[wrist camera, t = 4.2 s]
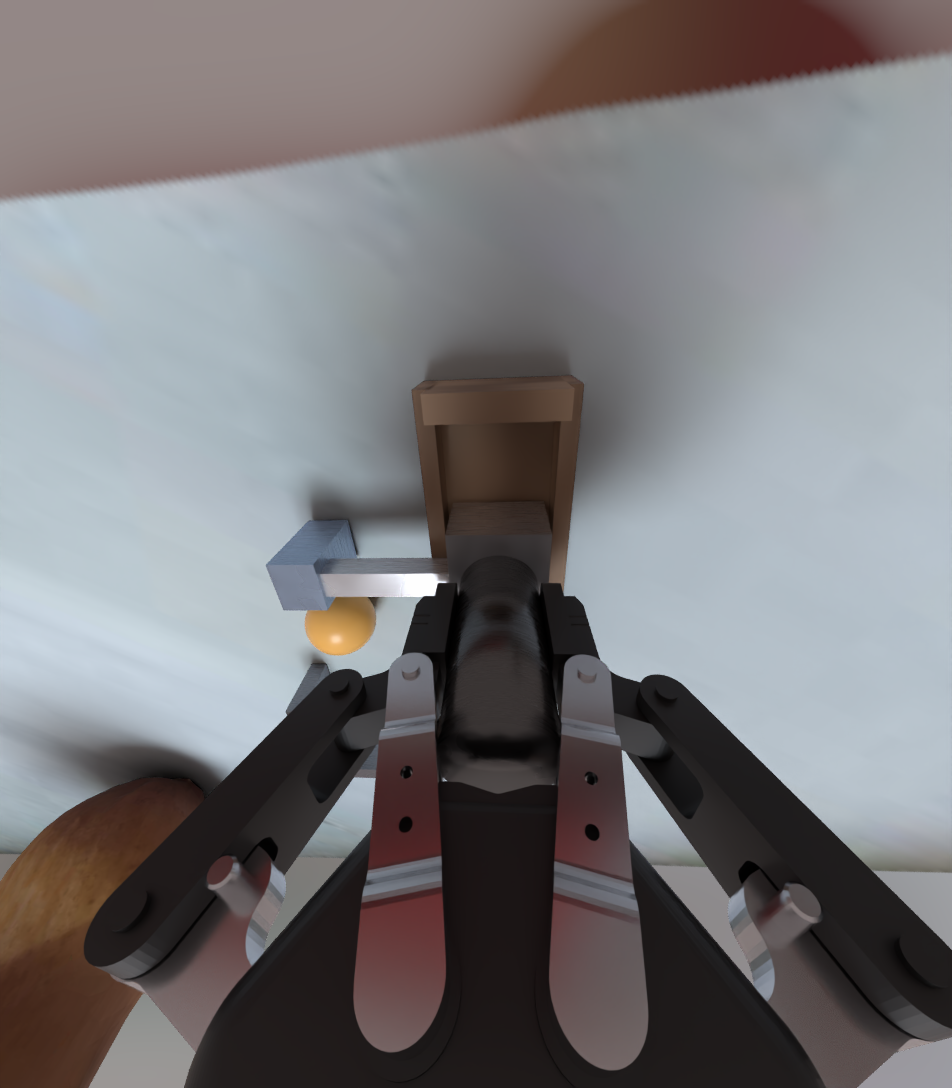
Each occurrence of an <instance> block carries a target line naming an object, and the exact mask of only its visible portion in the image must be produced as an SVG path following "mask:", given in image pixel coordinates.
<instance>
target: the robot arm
mask: <svg viewBox="0 0 952 1088" xmlns="http://www.w3.org/2000/svg"><path fill="white" fill-rule="evenodd" d="M457 600H458V587H457V583H438V584H437V588H436V592H435V596H424V597H423V598H422V599H421V600H420V601H419V602H418V603H417V605H416V608H415V611H414V616H413V618H412V622H411V625H410V629H409V632H408V635H407V639H406V642H405V646H404V649H403V653H402V656H400V657H399V658H397V659H396V660H395V661H394V662H393V663H392V665H391V666H390V669H389V670H387V671H385V672H383V673H380V674H376V675H372V676H369V677H365V678H362V676H361V674H360V673H359V672H357V671H355V670H352V669H342V670H338V671H335V672H333V673H331V674H329V675H328V676H327V677H325V678H324V679H323V680H322V681H321V682H320V683H319V684H318V685H317V686H316V687H315V688H314V689H313V690H312V691H311V692H310V693H309V694H308V695H307V696H306V697H305V698H304V699H303V700H302V701H301V702H300V703H299V704H298V705H297V706H296V707H295V708H294V709H293V710H292V711H291V712H290V713H289V714H288V715H287V717H286V718H285V719H284V720H283V721H282V722H281V723H280V724H279V725H278V726H277V727H276V728H275V729H274V730H273V731H272V732H271V733H270V734H269V735H268V736H267V737H266V738H265V739H264V740H263V741H262V742H261V743H260V744H259V745H258V746H257V747H256V748H255V749H254V750H253V751H252V752H251V753H250V754H249V755H248V756H247V757H246V758H245V759H244V760H243V761H242V762H241V763H240V764H239V765H238V766H237V767H236V768H235V769H234V770H233V771H232V772H231V773H230V774H229V775H228V776H227V777H226V778H225V779H224V780H223V781H222V782H221V783H220V784H219V785H218V786H217V787H216V788H215V789H214V790H213V791H212V793H211V794H210V795H209V796H208V797H207V798H206V799H205V800H204V801H203V802H202V803H201V804H200V805H199V806H198V807H197V808H196V809H195V810H194V811H193V812H192V813H191V814H190V815H189V816H188V817H187V818H186V819H185V820H184V821H183V822H182V823H181V824H180V825H179V826H178V827H177V828H176V829H175V830H174V831H173V832H172V833H171V834H170V835H169V836H168V837H167V838H166V839H165V840H164V841H163V842H162V843H161V844H160V845H159V846H158V847H157V848H156V849H155V850H154V851H153V852H152V853H151V854H150V855H149V856H148V857H147V858H146V859H145V860H144V861H143V862H142V863H141V864H140V865H139V866H138V867H137V869H136V870H135V871H134V872H133V873H132V874H131V875H130V876H129V877H128V878H127V879H126V880H125V881H124V882H123V883H122V884H121V885H120V886H119V887H118V888H117V889H116V890H115V891H114V892H113V893H112V894H111V895H110V896H109V897H108V898H107V900H106V901H105V902H104V903H103V905H102V906H101V907H100V909H99V910H98V912H97V913H96V915H95V916H94V918H93V920H92V922H91V924H90V926H89V928H88V931H87V933H86V937H85V941H84V956H85V959H86V960H87V962H88V963H89V964H91V965H93V966H95V967H97V968H99V969H101V970H103V971H105V972H107V973H109V974H110V975H111V977H112V978H113V979H114V980H116V981H118V982H120V983H122V984H124V985H126V986H129V987H131V988H133V989H135V990H137V991H139V992H142V993H144V994H146V995H148V996H149V997H150V998H151V999H152V1000H153V1002H154V1003H155V1004H156V1005H157V1006H158V1008H159V1009H160V1010H161V1011H162V1012H163V1014H164V1015H165V1016H166V1017H167V1018H168V1019H169V1021H170V1022H171V1023H172V1024H173V1026H174V1027H175V1028H176V1029H177V1030H178V1032H179V1033H180V1034H181V1035H182V1036H183V1038H184V1039H185V1040H186V1041H187V1042H188V1044H189V1045H190V1046H191V1047H192V1048H193V1050H194V1051H195V1052H196V1054H195V1056H194V1059H193V1061H192V1064H191V1067H190V1069H189V1073H188V1076H187V1079H186V1083H185V1086H184V1088H857V1087H858V1086H859V1085H860V1084H861V1083H862V1082H863V1081H865V1080H866V1079H867V1078H868V1077H869V1076H870V1075H871V1074H872V1073H873V1072H874V1071H875V1070H877V1069H878V1068H879V1067H880V1066H881V1065H882V1064H883V1063H884V1062H885V1061H887V1060H888V1059H889V1058H890V1057H891V1056H892V1055H893V1054H894V1053H896V1052H899V1051H903V1050H907V1049H910V1048H914V1047H917V1046H921V1045H925V1044H929V1043H932V1042H936V1041H939V1040H943V1039H947V1038H950V1037H952V950H951V949H950V948H949V947H948V946H947V945H946V944H945V942H943V941H942V939H940V937H939V936H937V934H935V933H934V932H933V931H932V930H931V929H930V928H929V927H928V926H927V925H926V924H925V923H924V922H923V921H922V920H921V919H920V918H919V917H918V916H917V915H916V914H915V913H914V912H913V911H912V910H911V909H910V908H909V907H908V906H907V905H906V904H905V903H904V902H903V901H902V900H901V899H900V898H899V897H898V896H897V895H896V894H895V893H894V892H893V891H892V890H891V889H890V888H889V887H888V886H887V885H886V884H885V883H884V882H883V881H882V880H880V878H879V877H878V876H877V875H876V874H875V873H874V872H873V871H872V870H870V869H869V868H868V867H867V866H866V865H865V864H864V863H863V862H862V861H861V860H860V859H859V858H858V857H857V856H856V855H855V854H854V853H853V852H852V851H851V850H850V849H849V848H848V847H847V846H846V845H845V844H844V843H843V842H842V841H841V840H840V839H839V838H838V837H837V836H836V835H835V834H834V833H833V832H832V831H831V830H830V829H829V828H828V827H827V826H826V825H825V824H824V823H823V822H822V821H821V820H820V819H819V818H818V817H817V816H816V815H815V814H814V813H813V812H812V811H811V810H810V809H809V808H808V807H806V806H805V805H804V804H803V803H802V802H801V801H800V800H799V799H798V798H797V797H796V796H795V795H794V794H793V793H792V792H791V791H790V790H789V789H788V788H787V787H786V786H785V785H784V784H783V783H782V782H781V781H780V780H779V779H778V778H777V777H776V776H775V775H774V774H773V773H772V772H771V771H770V770H769V769H768V768H767V767H766V766H765V765H764V764H763V763H762V762H761V761H760V760H759V759H758V758H757V757H756V756H755V755H754V754H753V753H752V752H751V751H750V750H749V749H748V748H747V747H746V746H745V745H744V744H743V743H741V742H740V741H739V740H738V739H737V738H736V737H735V736H734V735H733V734H732V733H731V732H730V731H729V730H728V729H727V728H726V727H725V726H724V725H723V724H722V723H721V722H720V721H719V720H718V719H717V718H716V717H715V716H714V715H713V714H712V713H711V712H710V711H709V710H708V709H707V708H706V707H705V706H704V705H703V704H702V703H701V702H700V701H699V700H698V699H697V698H696V697H695V696H694V695H693V694H692V693H691V692H690V691H689V690H688V689H687V688H686V687H685V686H683V685H682V684H681V683H680V682H678V681H677V680H675V679H673V678H671V677H668V676H665V675H650V676H647V677H645V678H644V679H643V680H642V681H641V683H640V682H637V681H633V680H630V679H626V678H623V677H620V676H618V675H616V674H614V673H612V672H611V671H609V669H608V667H607V666H606V665H605V663H603V662H602V661H601V660H600V658H599V655H598V652H597V649H596V645H595V642H594V639H593V635H592V632H591V629H590V626H589V622H588V619H587V617H586V612H585V609H584V606H583V604H582V603H581V602H580V601H579V600H578V599H577V598H576V597H575V596H564V594H563V590H562V586H561V583H541V586H540V600H541V606H542V613H543V619H544V626H545V632H546V639H547V645H548V652H549V658H550V664H551V671H552V677H553V683H554V690H555V696H556V703H557V706H558V712H559V715H558V716H559V722H560V734H559V750H558V758H557V765H556V773H555V780H554V784H553V785H537V784H536V785H532V786H528V787H524V788H520V789H516V790H512V791H508V792H504V793H500V794H496V793H493V792H489V791H486V790H483V789H480V788H477V787H474V786H471V785H468V784H465V783H462V782H449V781H445V779H444V778H443V772H442V766H441V759H440V753H439V747H438V728H439V722H440V713H441V707H442V701H443V694H444V688H445V681H446V674H447V668H448V661H449V654H450V647H451V640H452V634H453V627H454V620H455V613H456V607H457ZM377 744H379V745H378V756H377V768H376V780H375V792H374V803H373V815H372V827H371V830H370V831H369V833H368V834H367V835H366V836H365V837H364V838H363V839H362V841H361V842H360V843H359V844H358V845H357V846H356V847H355V849H354V850H353V851H352V852H351V853H350V854H349V855H348V857H347V858H346V859H345V860H344V861H343V862H342V863H341V865H340V866H339V867H338V868H337V869H336V871H335V872H334V873H333V874H332V875H331V876H330V877H329V878H328V880H327V881H326V882H325V883H324V884H323V885H322V886H321V888H320V889H319V890H318V891H317V892H316V893H315V894H314V896H313V897H312V898H311V899H310V900H309V901H308V902H307V904H306V905H305V906H304V907H303V908H302V909H301V911H300V912H299V913H298V914H297V915H296V916H295V917H294V919H293V920H292V921H291V922H290V923H289V924H288V926H287V927H286V928H285V929H284V930H283V931H282V932H281V933H280V934H279V936H278V937H277V938H276V939H275V940H274V941H273V942H272V944H271V945H270V946H269V947H268V948H267V949H266V951H265V952H264V947H265V942H266V939H267V936H268V933H269V931H270V928H271V926H272V924H273V922H274V920H275V919H276V917H277V915H278V913H279V911H280V909H281V907H282V904H283V901H284V897H285V890H286V884H285V878H284V875H285V874H286V872H287V871H288V869H289V868H290V867H291V865H292V864H293V862H294V861H295V860H296V858H297V857H298V855H299V854H300V853H301V851H302V850H303V848H304V847H305V845H306V844H307V843H308V841H309V840H310V838H311V837H312V836H313V834H314V833H315V831H316V830H317V829H318V827H319V826H320V824H321V823H322V822H323V820H324V819H325V817H326V816H327V814H328V813H329V812H330V810H331V809H332V807H333V806H334V805H335V803H336V802H337V800H338V799H339V798H340V796H341V795H342V793H343V792H344V791H345V789H346V788H347V786H348V785H349V784H350V782H351V781H352V779H353V778H354V776H355V775H356V774H357V772H358V771H359V769H360V768H361V767H362V765H363V764H364V762H365V761H366V760H367V758H368V757H369V755H370V754H371V753H372V751H373V750H374V748H375V747H376V745H377ZM621 750H623V751H626V753H627V755H628V756H629V758H630V759H631V761H632V762H633V763H634V765H635V766H636V768H637V769H638V770H639V772H640V773H641V775H642V776H643V777H644V779H645V780H646V782H647V783H648V784H649V786H650V787H651V789H652V790H653V791H654V793H655V794H656V796H657V797H658V798H659V800H660V801H661V803H662V804H663V805H664V807H665V808H666V810H667V811H668V812H669V814H670V815H671V817H672V818H673V819H674V821H675V822H676V824H677V825H678V826H679V828H680V829H681V831H682V832H683V833H684V835H685V836H686V837H687V839H688V840H689V842H690V843H691V844H692V846H693V847H694V849H695V850H696V851H697V853H698V854H699V856H700V857H701V858H702V860H703V861H704V863H705V864H706V865H707V867H708V868H709V870H710V871H711V872H712V874H713V875H714V876H715V878H716V879H717V881H718V882H719V884H720V885H721V886H722V888H723V889H724V891H725V892H726V893H727V895H728V896H729V897H730V901H729V905H728V917H729V922H730V925H731V928H732V932H733V934H734V936H735V938H736V940H737V942H738V944H739V945H740V947H741V949H742V951H743V953H744V954H745V957H746V959H747V961H748V963H749V966H750V969H751V972H752V977H753V982H754V986H753V985H752V983H751V982H750V981H749V980H748V979H747V978H746V976H745V975H744V974H743V973H742V972H741V970H740V969H739V968H738V967H737V966H736V965H735V964H734V962H733V961H732V960H731V959H730V957H729V956H728V955H727V954H726V953H725V952H724V950H723V949H722V948H721V947H720V946H719V945H718V943H717V942H716V941H715V940H714V939H713V937H712V936H711V935H710V934H709V933H708V932H707V930H706V929H705V928H704V927H703V926H702V924H701V923H700V922H699V921H698V920H697V919H696V917H695V916H694V915H693V914H692V913H691V912H690V910H689V909H688V908H687V907H686V906H685V904H684V903H683V902H682V901H681V900H680V899H679V898H678V896H677V895H676V894H675V893H674V892H673V890H672V889H671V888H670V887H669V886H668V884H667V883H666V882H665V881H664V880H663V879H662V877H661V876H660V875H659V874H658V873H657V871H656V870H655V869H654V868H653V867H652V866H651V864H650V863H649V862H648V861H647V860H646V858H645V857H644V856H643V855H642V854H641V853H640V851H639V850H638V849H637V848H636V847H635V846H634V844H633V843H632V842H631V841H630V840H629V831H628V820H627V808H626V797H625V785H624V774H623V762H622V751H621Z"/></svg>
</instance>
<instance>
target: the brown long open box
mask: <svg viewBox="0 0 952 1088" xmlns="http://www.w3.org/2000/svg"><path fill="white" fill-rule="evenodd" d="M583 392H584V383H582V382H581V381H579V380H578V379H576V378H575V377H573V376H572V375H567V376H541V377H515V378H489V379H463V380H437V381H423V382H422V383H421V384H419V385H418V386H417V387H415V388H414V389H412V398H413V406H414V414H415V423H416V431H417V439H418V447H419V455H420V464H421V472H422V480H423V488H424V496H425V505H426V513H427V521H428V529H429V538H430V546H431V554H432V558H447V551H446V541H445V534H446V530H447V526H448V522H449V518H450V514H451V510H452V506H453V503H463V502H523V501H544V505H545V509H546V513H547V516H548V520H549V524H550V528H551V532H552V543H551V557H550V570H549V583H561V586H562V590H563V589H564V579H565V569H566V560H567V550H568V540H569V530H570V520H571V510H572V500H573V490H574V480H575V471H576V461H577V451H578V441H579V431H580V421H581V411H582V401H583Z"/></svg>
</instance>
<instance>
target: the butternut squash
mask: <svg viewBox="0 0 952 1088" xmlns="http://www.w3.org/2000/svg"><path fill="white" fill-rule="evenodd" d="M204 800H205V797H204V793H203V791H202V790H201V789H200V788H199V787H197V786H196V785H195V784H194V783H193V782H192V781H191V780H190V779H189V778H175V779H168V778H159V777H150V778H140V779H136V780H134V781H131V782H128V783H125V784H121V785H118V786H115V787H113V788H111V789H109V790H107V791H104V792H102V793H100V794H98V795H96V796H93V797H91V798H89V799H87V800H85V801H83V802H82V803H80V804H78V805H76V806H75V807H73V808H72V809H70V810H68V811H67V812H65V813H64V814H62V815H61V816H60V817H59V818H57V819H56V820H55V821H54V822H52V823H51V824H50V825H49V826H47V827H46V828H45V829H44V830H43V831H42V832H41V833H40V834H39V835H38V836H37V837H36V838H35V839H34V840H33V841H32V842H31V843H30V844H29V846H28V847H27V848H26V849H25V850H24V851H23V852H22V853H21V855H20V856H19V857H18V858H17V860H16V861H15V862H14V863H13V864H12V866H11V867H10V868H9V870H8V871H7V872H6V874H5V875H4V877H3V878H2V880H1V881H0V1088H88V1087H89V1085H90V1083H91V1082H92V1080H93V1078H94V1076H95V1074H96V1073H97V1071H98V1069H99V1067H100V1065H101V1063H102V1062H103V1060H104V1058H105V1056H106V1054H107V1052H108V1051H109V1049H110V1047H111V1045H112V1043H113V1042H114V1040H115V1038H116V1036H117V1034H118V1033H119V1031H120V1029H121V1027H122V1025H123V1023H124V1022H125V1020H126V1018H127V1017H128V1015H129V1013H130V1012H131V1010H132V1009H133V1007H134V1006H135V1004H136V1003H137V1001H138V1000H139V998H140V997H141V995H142V994H143V993H142V992H139V991H137V990H135V989H133V988H131V987H129V986H126V985H124V984H122V983H120V982H118V981H116V980H114V979H113V978H112V977H111V975H110V974H109V973H107V972H105V971H103V970H101V969H99V968H97V967H95V966H93V965H91V964H89V963H88V962H87V960H86V959H85V956H84V941H85V937H86V933H87V931H88V928H89V926H90V924H91V922H92V920H93V918H94V916H95V915H96V913H97V912H98V910H99V909H100V907H101V906H102V905H103V903H104V902H105V901H106V900H107V898H108V897H109V896H110V895H111V894H112V893H113V892H114V891H115V890H116V889H117V888H118V887H119V886H120V885H121V884H122V883H123V882H124V881H125V880H126V879H127V878H128V877H129V876H130V875H131V874H132V873H133V872H134V871H135V870H136V869H137V867H138V866H139V865H140V864H141V863H142V862H143V861H144V860H145V859H146V858H147V857H148V856H149V855H150V854H151V853H152V852H153V851H154V850H155V849H156V848H157V847H158V846H159V845H160V844H161V843H162V842H163V841H164V840H165V839H166V838H167V837H168V836H169V835H170V834H171V833H172V832H173V831H174V830H175V829H176V828H177V827H178V826H179V825H180V824H181V823H182V822H183V821H184V820H185V819H186V818H187V817H188V816H189V815H190V814H191V813H192V812H193V811H194V810H195V809H196V808H197V807H198V806H199V805H200V804H201V803H202V802H203V801H204Z"/></svg>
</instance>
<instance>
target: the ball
mask: <svg viewBox="0 0 952 1088" xmlns="http://www.w3.org/2000/svg"><path fill="white" fill-rule="evenodd" d="M375 625H376V613H375V609H374V606H373V604H372V602H371V601H370V600H369V598H368V597H335V599H334V601H333V602H332V604H331V606H330V607H329V609H328V610H307V613H306V617H305V630H306V634H307V637H308V639H309V640H310V642H311V643H312V644H313V645H314V646H315V647H316V648H317V649H318V650H320V651H322V652H324V653H326V654H330V655H346V654H350V653H352V652H355V651H357V650H358V649H360V648H361V647H363V646H364V645H365V644H366V643H367V642H368V640H369V639H370V637H371V636H372V634H373V632H374V629H375Z"/></svg>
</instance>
